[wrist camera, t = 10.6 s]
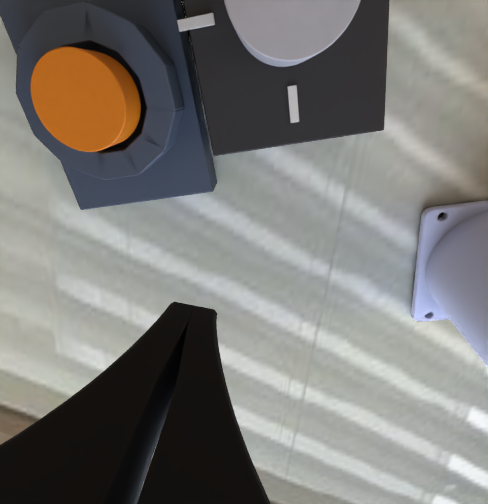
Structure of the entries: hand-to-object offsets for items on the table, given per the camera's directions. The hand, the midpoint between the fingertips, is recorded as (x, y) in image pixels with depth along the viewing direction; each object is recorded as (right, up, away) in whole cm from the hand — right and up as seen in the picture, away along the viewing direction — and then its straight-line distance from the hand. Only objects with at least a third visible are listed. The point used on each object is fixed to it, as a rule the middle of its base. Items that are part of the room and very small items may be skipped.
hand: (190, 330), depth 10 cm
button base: (-4, +10, +6) cm, 13 cm away
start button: (-5, +9, +4) cm, 11 cm away
